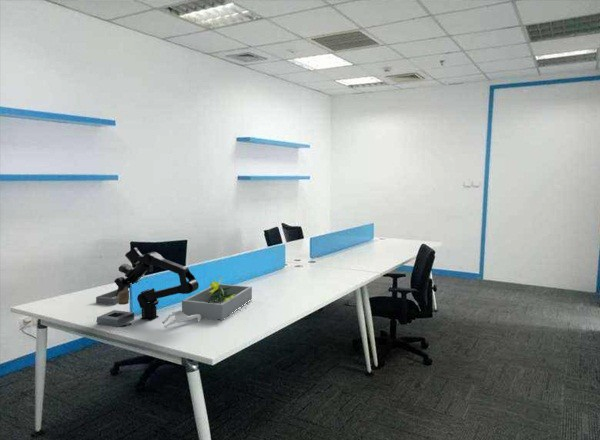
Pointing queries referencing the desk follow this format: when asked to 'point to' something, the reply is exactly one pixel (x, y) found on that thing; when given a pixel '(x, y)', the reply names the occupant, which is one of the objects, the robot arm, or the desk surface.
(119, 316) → the housing
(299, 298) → the desk surface
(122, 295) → the end plug
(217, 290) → the daffodil flowers
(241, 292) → the planter
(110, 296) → the tray
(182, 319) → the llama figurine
